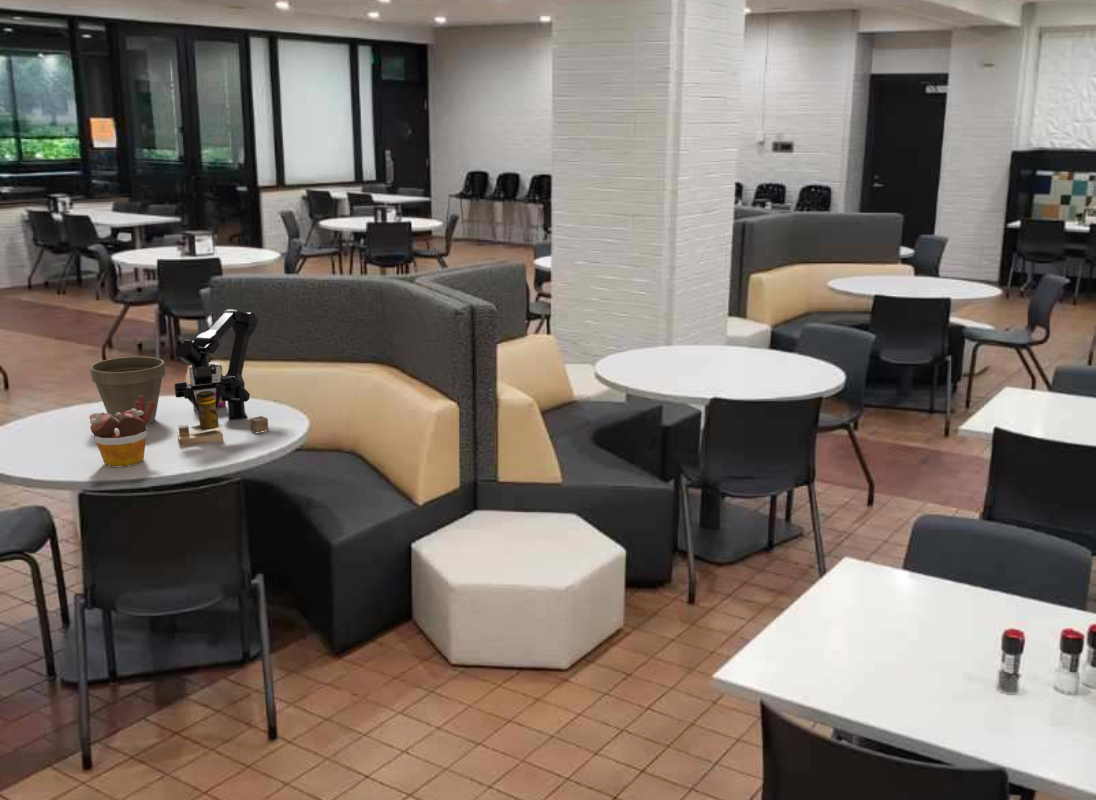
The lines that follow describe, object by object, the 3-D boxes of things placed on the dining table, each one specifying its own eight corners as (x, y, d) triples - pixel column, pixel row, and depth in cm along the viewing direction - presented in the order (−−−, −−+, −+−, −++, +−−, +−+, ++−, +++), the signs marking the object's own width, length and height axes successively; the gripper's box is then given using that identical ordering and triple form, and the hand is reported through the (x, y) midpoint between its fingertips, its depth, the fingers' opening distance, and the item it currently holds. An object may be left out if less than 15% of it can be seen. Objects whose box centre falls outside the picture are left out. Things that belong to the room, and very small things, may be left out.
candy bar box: (220, 404, 413) (216, 362, 409) (226, 406, 409) (222, 364, 405) (192, 409, 406) (188, 366, 402) (197, 411, 403) (193, 368, 398)
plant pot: (182, 422, 389) (175, 363, 384) (113, 436, 373) (105, 374, 368) (153, 409, 407) (147, 352, 402) (86, 422, 391) (79, 363, 386)
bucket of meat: (113, 474, 332) (105, 412, 327) (82, 465, 342) (74, 404, 336) (168, 457, 348) (162, 397, 343) (138, 449, 357) (131, 391, 352)
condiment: (223, 426, 366) (219, 392, 362) (200, 432, 360) (195, 397, 357) (213, 422, 371) (209, 388, 367) (190, 428, 365) (185, 393, 362)
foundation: (177, 439, 368) (176, 423, 366) (220, 434, 373) (219, 419, 372) (179, 446, 360) (178, 430, 358) (223, 441, 365) (221, 425, 363)
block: (250, 430, 377) (249, 418, 376) (262, 428, 380) (261, 416, 379) (256, 433, 374) (255, 421, 373) (268, 430, 377) (267, 418, 375)
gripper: (171, 359, 360) (177, 399, 353) (229, 353, 367) (236, 392, 360) (172, 377, 369) (178, 416, 362) (229, 371, 376) (235, 409, 369)
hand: (207, 408), depth 363 cm, fingers closed on condiment, 6 cm apart
